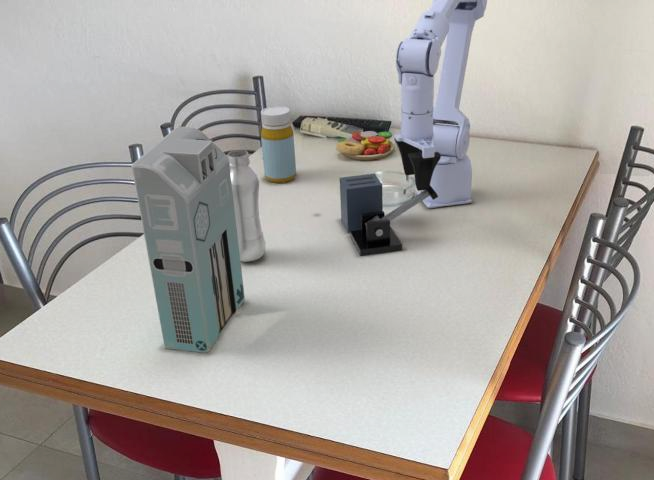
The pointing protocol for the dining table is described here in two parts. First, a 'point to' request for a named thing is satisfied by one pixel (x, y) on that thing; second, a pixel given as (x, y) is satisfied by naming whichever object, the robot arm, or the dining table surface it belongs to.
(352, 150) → the toy food set
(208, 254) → the device
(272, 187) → the dining table surface
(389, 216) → the lever
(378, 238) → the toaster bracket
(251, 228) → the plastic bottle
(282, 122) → the bottle
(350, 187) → the toaster body
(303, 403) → the dining table surface
